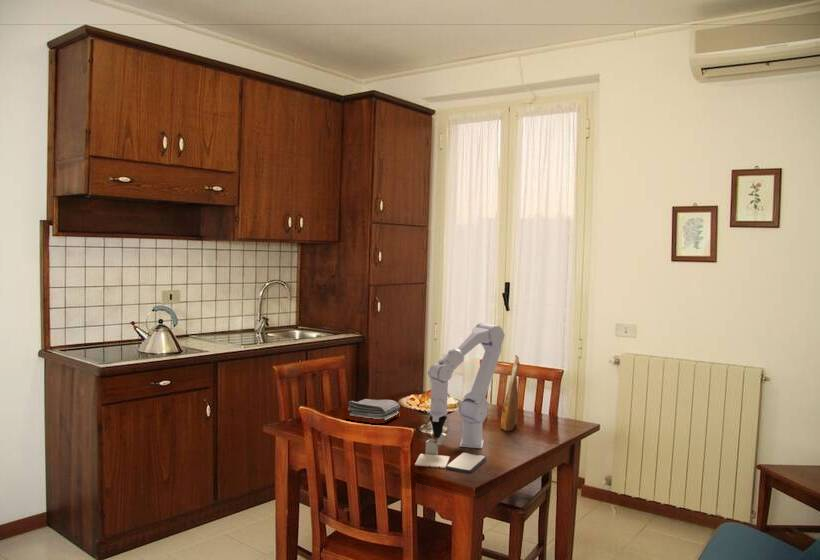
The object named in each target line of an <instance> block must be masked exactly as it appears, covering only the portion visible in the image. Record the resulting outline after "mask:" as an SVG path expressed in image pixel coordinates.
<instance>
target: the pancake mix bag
mask: <svg viewBox="0 0 820 560" xmlns="http://www.w3.org/2000/svg"><path fill="white" fill-rule="evenodd" d="M514 357H515V358H514V362H513V366H512V368H511V374H510V381H509V384H508V388H507V391H506V394H505V399H504V402H503V405H502V411H501V419H500V428H501V430H504V431H505V432H509V431H510V430H511V431H513V430H514V429H515V426H516V422H517V417H518V407H519V405H518V403H519V399H518V398H519V396H518V392H519V391H518V378H517V374H518V372H519V369H520V366H521V362H520V361H519V358H520V357H519V356H518V355H517V354H516V355H514Z"/></svg>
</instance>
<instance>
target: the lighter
mask: <svg viewBox="0 0 820 560" xmlns="http://www.w3.org/2000/svg"><path fill="white" fill-rule="evenodd" d="M446 437H447V433H445V432H443V431H442V434H441V436H440V437H439V438H437V441H436V438H428V439H427V440H426V441H425V453H424V454H429V455H439V446H441V445H443V443H444V441H445V439H446Z"/></svg>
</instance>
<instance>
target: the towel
mask: <svg viewBox="0 0 820 560" xmlns="http://www.w3.org/2000/svg"><path fill="white" fill-rule="evenodd" d="M348 405H349V406H348V408H347V411H349V414H348V415H350V416H355V417H364V418H373V419H384V420H387V419H389V418H391V417H393V416H395V415H397V414H398V413H399V414H400V412H399V411H398V410H399V409H400V408H401V405H400V403H399V402H397V401H395V400H393V399H370V398H364V399H361V400H359V401H354V400H350V401H349V402H348Z"/></svg>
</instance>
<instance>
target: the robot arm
mask: <svg viewBox="0 0 820 560" xmlns="http://www.w3.org/2000/svg"><path fill="white" fill-rule="evenodd" d="M505 336H506V334H505V333H504V330H503V328H502V327H501V326H500V325H494V324H488V323H483V322H480V323H477V325H475V326H474V327H473V328H472V330H471V333H470V334H469V335H468V337H466V339H464V340H463V341H462V343H461V344H460V345H459V346H458V347H457V349H455V348H452V349H450V350H448V351H447V354H446V355H444V356H443V357H442V358H441V359H439V361H438V362H434V363H433V364H432V365H431V366H430V367H429V370H427V374H428V375H427V376H428V377H429V378H430V383H431V384H430V385H431V387H430V407H429V409H427V410H426V413H427V414H430V416H429V422H430V423H431V427H432V432H433V437H434V439H436V438H437V439H439V437H440V436H441V434H442V433H443V429H444V425H445V423H446V420H447V418H448V416H447V414H448V389H449V388H448V385H449V380H451V378H452V377H453V376H452V375H453V373H454V371H455V370H456V369H458V367H460V365H461V364H462V363H464V360H465V358H464V357H465V356H466V355H467V354H468V353H470V351H472V350H473V349H474V348H475V347H476V346H478V345H479V344H480V346H482V348H483V349H484V354H483V356H482V359H481V362H480V365H479V368H478V371H477V373H476V376H475V379H474V382H473V384H472V387H471V391H470V392H468V393H466V394H465V395H464V397H463V399H462V400H461V401H460V403H459V405H458V413H459V415H460V416H461V419H462V426H461V428H462V429H461V440H460V443H459V447H460V448H471V449H483V447H484V442H485V441H484V439H483V423H484V422H485V420H486V419H487V416H488V412H489V411H488V407H489V404H490V403H489V401H488V400H487V394H488V391H489V387H490V385H491V381H492V379H493V376H494V373H495V372H496V371H495V370H496V367H497V364H498V362H499V359H500V355H501V353H502V346H503V345H502V344H503V342H504V339H505Z"/></svg>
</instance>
